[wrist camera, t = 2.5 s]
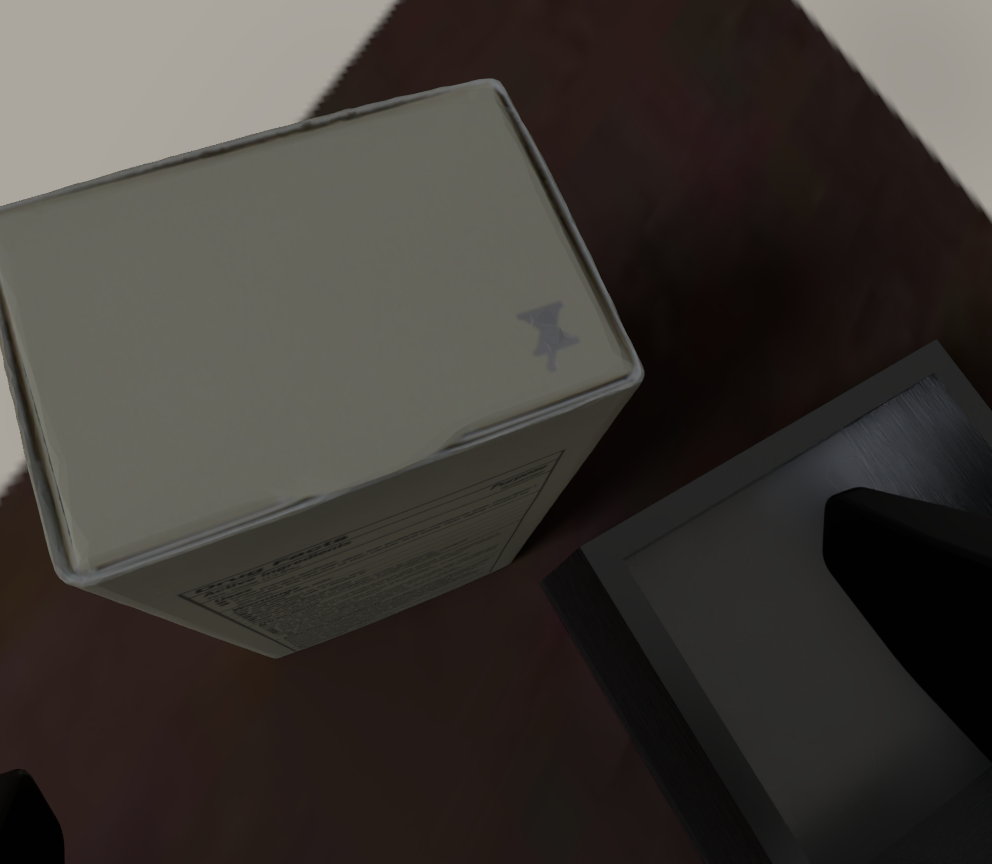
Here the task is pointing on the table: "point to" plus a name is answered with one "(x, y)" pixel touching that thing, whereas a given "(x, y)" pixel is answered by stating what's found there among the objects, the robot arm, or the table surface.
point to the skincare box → (308, 366)
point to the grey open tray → (791, 640)
